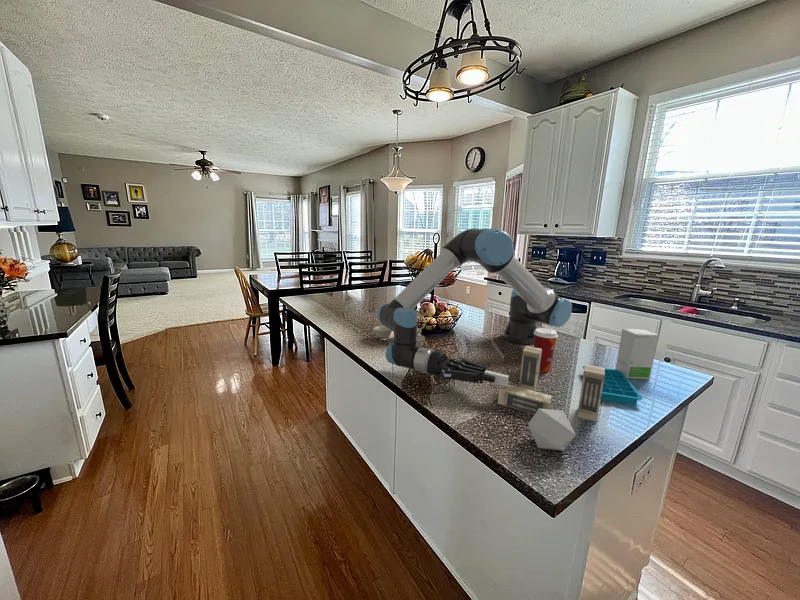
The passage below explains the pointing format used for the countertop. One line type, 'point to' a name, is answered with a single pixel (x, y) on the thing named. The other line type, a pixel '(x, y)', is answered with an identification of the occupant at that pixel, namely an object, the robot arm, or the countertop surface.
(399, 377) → the countertop surface
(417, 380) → the countertop surface
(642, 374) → the skincare box
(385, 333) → the chinaware
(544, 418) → the die
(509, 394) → the post
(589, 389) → the post
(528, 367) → the post
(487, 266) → the robot arm
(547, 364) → the paper cup
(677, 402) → the countertop surface
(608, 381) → the ice cube tray
